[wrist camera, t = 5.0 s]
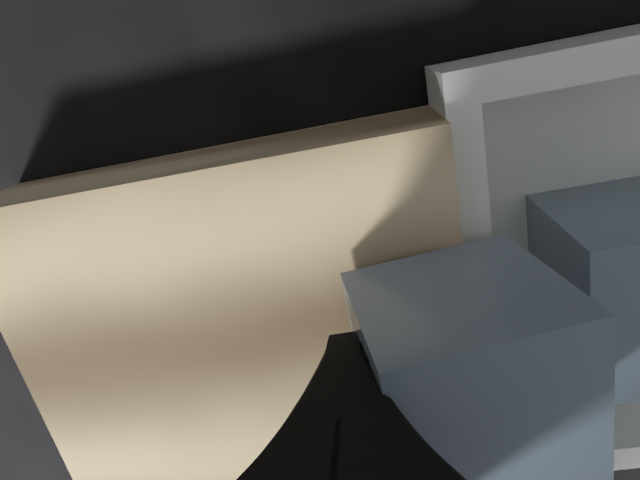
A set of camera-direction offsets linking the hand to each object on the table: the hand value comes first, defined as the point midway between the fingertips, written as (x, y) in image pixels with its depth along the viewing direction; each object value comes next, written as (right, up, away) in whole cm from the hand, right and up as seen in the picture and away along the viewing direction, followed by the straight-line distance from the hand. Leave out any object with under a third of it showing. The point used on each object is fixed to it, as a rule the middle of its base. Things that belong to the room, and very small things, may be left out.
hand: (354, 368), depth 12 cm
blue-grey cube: (+2, +1, +1) cm, 2 cm away
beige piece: (-3, +1, +5) cm, 5 cm away
